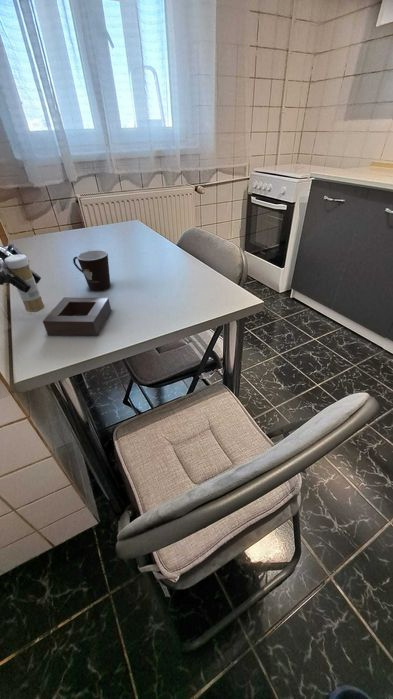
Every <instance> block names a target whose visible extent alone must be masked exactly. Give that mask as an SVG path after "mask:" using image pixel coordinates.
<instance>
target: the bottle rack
mask: <svg viewBox="0 0 393 699" xmlns="http://www.w3.org/2000/svg"><path fill="white" fill-rule="evenodd" d="M111 313H112V306H111V303H110V298H109V297H78V296H77V297H76V296H75V297H71V296H70V297H68V296H67V297H62V299H61V300H60V301H59V302H58V303H57V304H56V306H55V307H54V308H53V309H52V310H51V311H50V312H49V313H48V315H46V317H45V318H44V319H43V320H42V323H43V326H44V329H45V331H46V333H47V336H52V337H53V336H55V337H57V336H60V337H62V336H63V337H65V336H66V337H98V336H99V334H100V332H101V331H102V328H103V326H104V325H105V324H106V322H107V319H108V318H109V316H110V314H111Z"/></svg>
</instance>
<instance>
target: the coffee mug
mask: <svg viewBox="0 0 393 699" xmlns="http://www.w3.org/2000/svg"><path fill="white" fill-rule="evenodd" d="M76 260H77V261H78V263H79V265H80V267H79V265H78V264H77V262H76ZM72 261H73V262H72V263H73V265H74V266H75V267H76V269H77V270H78V271H79V272H80V273H82V274H83V276H84V278H85V281H86V283H87V286H88V288H89V290H90V291H92V292H103V291H107V290H108V289H110V288H111V274H110V265H109V264H110V263H109V254H108V252H107V251H106V250H102V249H94V250H86V251H83V252H81V253H78V254H77V256H74V257H73V258H72Z"/></svg>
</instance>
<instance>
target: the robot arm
mask: <svg viewBox="0 0 393 699" xmlns="http://www.w3.org/2000/svg"><path fill="white" fill-rule="evenodd" d="M19 254H22V255H24V254H23V253H22V252H21V251H20V250H19V249H18V248H17V246H15V245H14V244H13V243H9V244H8V246H4V245H2V244H0V286H4V285H5V284H11V285H12V286H13V287H15V288H16V289H17V288H18V289H19V290H21V291H23V292H25V293H27V292H28V291H29V290H30V288H31V286H30V285H29V284H28V283H26V282H25V281H24V280H22V279H21V278H19V277H18V276H15V274H14V273H13V272H12V271H11V270H10V269H9V268H8V266H7V265H6V263H5V258H7V257H9V256H12V255H19ZM28 262H29V263H30V260H29V259H28ZM30 270H31V272H32V275H33V277H34V280H35V282H36V285H38V284H39V282H40V281H41V279H42V278H41V276H40V275H39V274H38V273H37V272H35V271H34V270H33V269H31V268H30Z"/></svg>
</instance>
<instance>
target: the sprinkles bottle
mask: <svg viewBox="0 0 393 699" xmlns="http://www.w3.org/2000/svg"><path fill="white" fill-rule="evenodd" d="M22 254H23V253H22ZM22 254H19V255H12V256H9V257H7V258H5V263H6V265H7V266H8V268H9V269H10V270H11V271H12V272H13V273H14V274H15V276H18V277H19V278H21V279H22V280H24V281H25V282H26V283H28V284H29V285H30V286H31V288H30V290H29V291H28V292H27V293H25V292H23V291H21V290H19V289H18V288H16V290H17V292H18V294H19V297H20V299H21V301H22V303H23V306H24V309H25V311H26V312H27V313H36V312H40V311H42V310H43V309H44V308H45V303H44V302H43V299H42V296H41V293H40V291H39V287H38V284H36V282H35V280H34V277H33V275H32V272H31V270H32V269H31V267H30V261H29V262H28V260H29V259H28V257H27V256H26V255H25V254H23V255H22ZM30 269H31V270H30Z"/></svg>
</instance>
